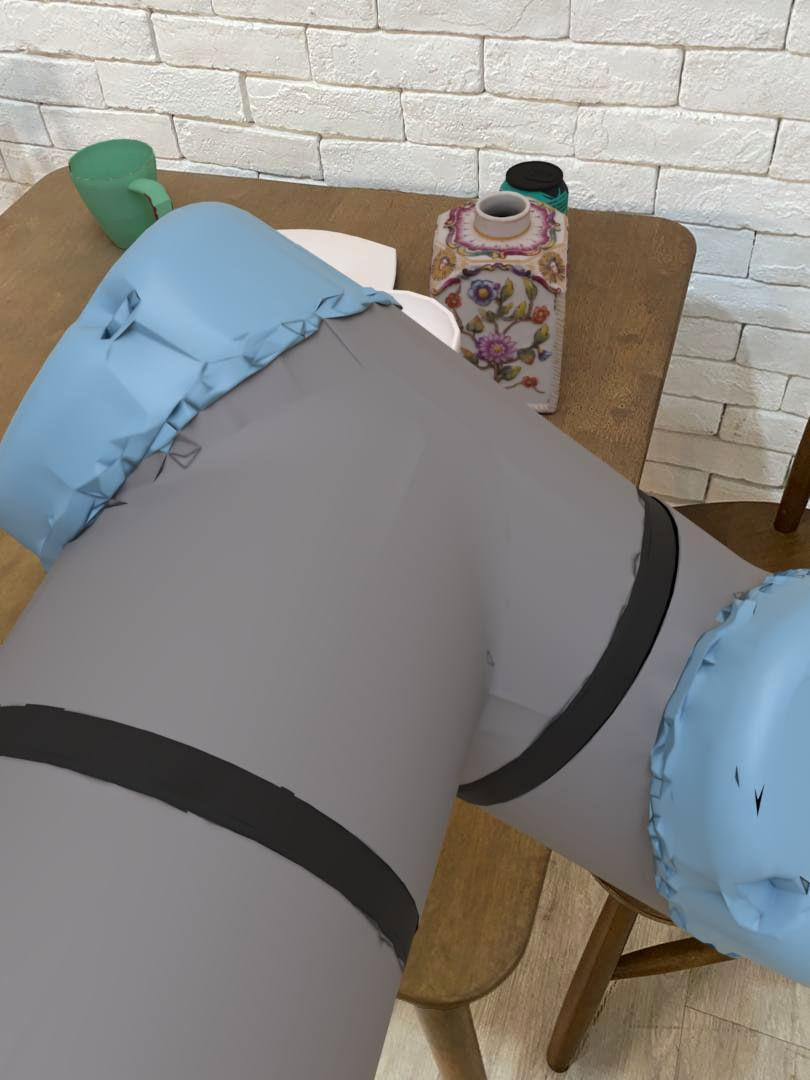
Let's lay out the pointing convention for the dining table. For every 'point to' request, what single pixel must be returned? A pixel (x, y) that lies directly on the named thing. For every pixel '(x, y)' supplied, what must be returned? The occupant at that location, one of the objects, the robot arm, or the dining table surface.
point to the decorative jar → (506, 290)
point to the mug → (120, 187)
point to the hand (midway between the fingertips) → (337, 650)
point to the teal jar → (538, 183)
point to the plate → (350, 255)
